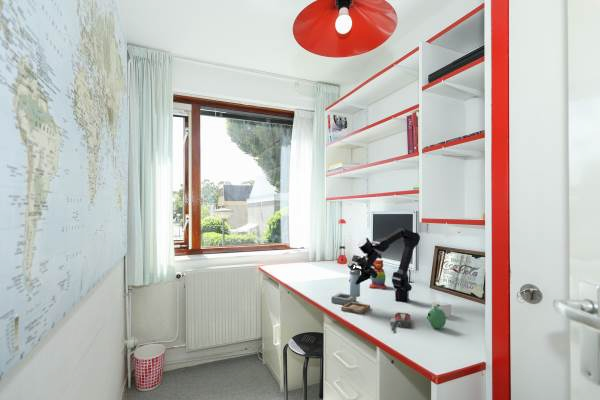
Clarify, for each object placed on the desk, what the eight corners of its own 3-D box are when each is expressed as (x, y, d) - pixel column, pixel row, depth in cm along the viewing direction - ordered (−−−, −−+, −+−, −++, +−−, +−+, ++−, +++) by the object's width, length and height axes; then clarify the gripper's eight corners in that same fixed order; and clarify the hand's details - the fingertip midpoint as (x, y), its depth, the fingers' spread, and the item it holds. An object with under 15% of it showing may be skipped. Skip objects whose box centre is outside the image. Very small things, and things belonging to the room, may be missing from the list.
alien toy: (429, 323, 144) (429, 301, 144) (448, 327, 139) (447, 304, 139) (424, 328, 138) (424, 304, 138) (443, 332, 133) (443, 308, 134)
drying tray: (370, 308, 165) (370, 305, 165) (361, 314, 156) (361, 310, 156) (350, 305, 171) (350, 301, 171) (341, 310, 162) (341, 306, 162)
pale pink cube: (451, 317, 153) (451, 304, 153) (440, 318, 151) (440, 305, 151) (442, 313, 159) (442, 300, 159) (432, 314, 157) (432, 301, 157)
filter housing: (356, 301, 178) (356, 295, 178) (348, 305, 170) (348, 299, 170) (339, 298, 184) (339, 292, 184) (331, 302, 175) (331, 297, 176)
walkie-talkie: (391, 317, 153) (389, 332, 134) (390, 308, 153) (389, 322, 134) (410, 319, 150) (412, 335, 131) (410, 309, 150) (412, 324, 131)
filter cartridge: (360, 294, 166) (360, 270, 167) (360, 297, 161) (360, 272, 162) (350, 294, 167) (349, 269, 168) (349, 296, 162) (349, 271, 162)
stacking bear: (369, 288, 207) (369, 260, 208) (370, 284, 217) (370, 258, 217) (386, 289, 204) (386, 261, 205) (386, 285, 214) (386, 259, 214)
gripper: (349, 247, 175) (333, 269, 169) (373, 251, 158) (355, 276, 153) (361, 260, 178) (345, 283, 173) (385, 266, 162) (368, 290, 157)
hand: (352, 282), depth 164 cm, fingers closed on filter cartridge, 5 cm apart
